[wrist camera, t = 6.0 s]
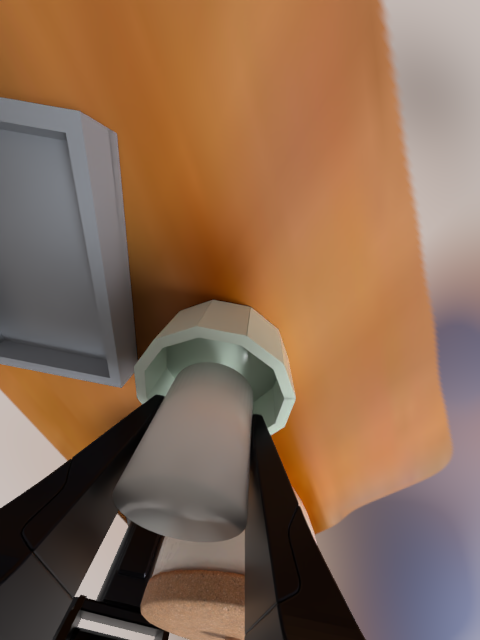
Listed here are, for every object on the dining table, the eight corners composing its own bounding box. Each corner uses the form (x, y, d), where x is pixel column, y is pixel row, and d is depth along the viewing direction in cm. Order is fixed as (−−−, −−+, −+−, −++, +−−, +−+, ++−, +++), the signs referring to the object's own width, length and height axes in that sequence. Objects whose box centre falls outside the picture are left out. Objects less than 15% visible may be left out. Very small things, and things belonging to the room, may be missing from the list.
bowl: (269, 412, 14) (271, 458, 11) (163, 391, 14) (140, 431, 11) (302, 316, 11) (315, 349, 8) (161, 290, 11) (128, 313, 8)
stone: (260, 371, 9) (260, 494, 5) (245, 428, 11) (235, 551, 7) (173, 354, 9) (102, 461, 5) (172, 413, 11) (120, 527, 7)
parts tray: (138, 367, 13) (121, 387, 12) (8, 342, 13) (-27, 358, 12) (116, 133, 8) (79, 111, 6) (-102, 95, 8) (-192, 63, 6)
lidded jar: (163, 465, 18) (82, 667, 10) (243, 414, 14) (217, 683, 6) (247, 513, 21) (237, 705, 13) (334, 481, 17) (405, 735, 9)
